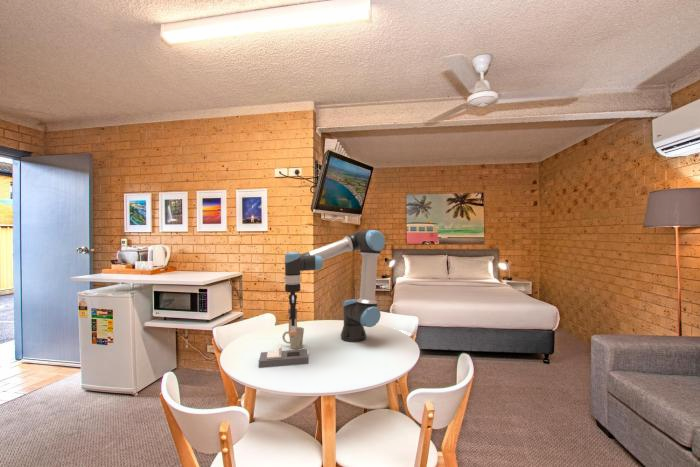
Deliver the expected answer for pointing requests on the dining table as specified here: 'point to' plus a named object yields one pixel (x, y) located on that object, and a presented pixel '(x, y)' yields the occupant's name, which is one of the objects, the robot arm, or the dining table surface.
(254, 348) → the dining table surface
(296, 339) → the mug
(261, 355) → the socket
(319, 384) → the dining table surface
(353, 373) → the dining table surface
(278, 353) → the panel
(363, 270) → the robot arm
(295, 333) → the plug
